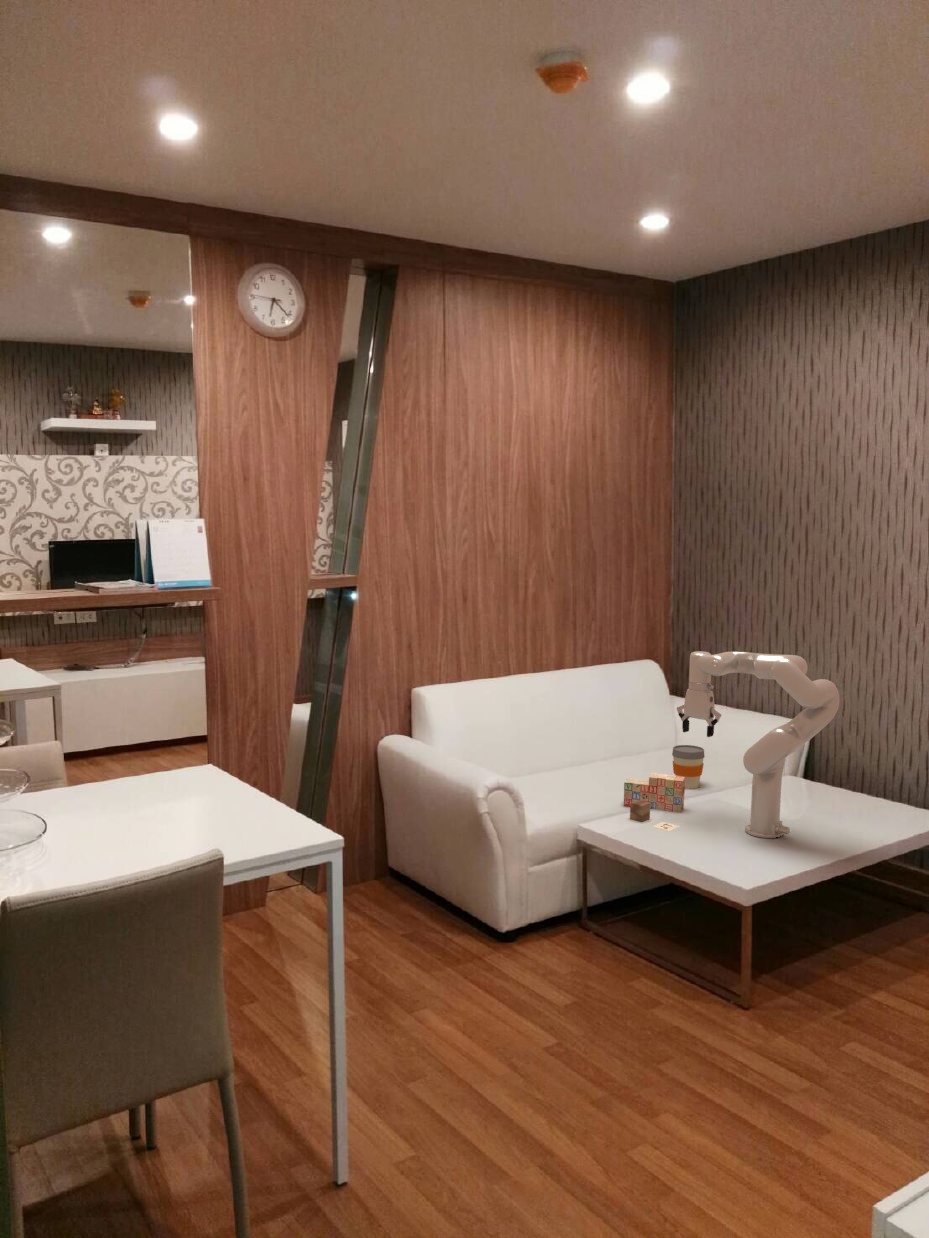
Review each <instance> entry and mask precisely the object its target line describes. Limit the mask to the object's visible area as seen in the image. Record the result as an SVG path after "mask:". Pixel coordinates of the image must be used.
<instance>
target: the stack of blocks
mask: <svg viewBox="0 0 929 1238" xmlns="http://www.w3.org/2000/svg"><path fill="white" fill-rule="evenodd" d="M648 777H649V778H648V780H646V779H639V778H638V779H637V778H631V777H630V778H629V777H627V778H626V779H625V781H624V782H623V783H624V784H623V806H624V807H629V808H630V803H631V802H634V801H636V800H641V801H645V802H649V803H650V810H656V811H657V810H658V811H666V812H672V813H673V812H674V813H679V814H680V813H682V812H683V810H684V808H685V807H684V805H685V804H684V803H685V777H681V776H676V775H675V774H667V773H666V774H664V773H655V772H651V774H650V775H649V776H648Z"/></svg>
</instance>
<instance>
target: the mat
mask: <svg viewBox="0 0 929 1238" xmlns="http://www.w3.org/2000/svg"><path fill="white" fill-rule="evenodd" d="M626 820H628V821H630V822H631V821H632V822H634V823H639V824H645V823H648V822H650V821H652V820H654V818H651V817H650V819H649V820H647V821H644V822H638V821H635V820H631V819H630V817H627V818H626ZM680 827H681V825H676V824H673V823H669V822H665V821H661V822H659V823H657V824H654V825H652V828H657V829H660V830H661V829H662V830H664V831H668V832H670V831H674V830H676V829H677V828H680Z"/></svg>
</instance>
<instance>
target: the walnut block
mask: <svg viewBox="0 0 929 1238" xmlns="http://www.w3.org/2000/svg"><path fill="white" fill-rule="evenodd" d="M629 810H630V811H629V818H630V819H631V820H635V821H638V822H644V821H647V820H649V819H650V818H651V809H650V803H649V802H645V801H641V800H636V801H634V802H631V803H630V807H629ZM631 820H630V821H631ZM638 822H637V823H638Z"/></svg>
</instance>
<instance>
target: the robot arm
mask: <svg viewBox="0 0 929 1238" xmlns="http://www.w3.org/2000/svg"><path fill="white" fill-rule="evenodd" d="M688 670H689V673H688V675H689V676H688V688H687V689H686V693H685V697H684V703H683V704H682V705H680V706H677V707H676V712H677V713H678V716H679V718H680V720H681V721H682V728H681V729H682V733H687V732H689V731H690V720H689V719H690V718H692V719H697V720H703V721H706V723H707V726H706V737H707V738H710V737H713V736H714V732H715V726H716V724H718V723H719V722H720V719H721V718H722V713H720V712H718V711H717V710H716V709H715V697H714V691H712V690H713V689H714V688H715V686H714V685H713V684H712V676H713V677H714V676H715V677H721V676H726V675H728V674H732V673H733V674H734V673H735V674H749V675H754V676H755V678H757V679H759V680H775V681H776V682H777V684H778V685H779V686H780V687H781V688H782V689H783V690H784V691H785V692H786V693H787V694H788V695H789V696H790V697H791V698H792V699H794V700H795V701H796V703H798V704H799V705H800V706H801V707H803V708H805V709H803V710H801V711H800V712H799V713H798V714H797V715H796V716H795V717H794V718H792V719H791V720H790V721H788V722H786V723H785V724H781V725H779V726H777V727H775V728H773V729H772V730H770V731H769V732H768V733H766V734H764V735H763V737H761V738H760V739H759V740H758V741H757V742H755V743H754V744H753V745H751V746H750V747H749V748H748V749H747V750H746V752H745V753H744V755H743V760H742V761H743V763H742V764H743V766H744V769H745V770H746V771H747V772H748V773H750V774H751V775H753V776H752V782H751V785H752V786H751V801H750V802H751V803H750V804H751V805H750V818H749V819H750V822H749V824H747V825H746V826H745V829H744V830H745V832H746V834H749V835H750V836H752V837H753V836H754V837H757V838H762V839H777V838H776V837H778V838H780V836H781V837H783V836H784V835H783V834H785V835H790V833H791V831H790V827H789V826H785V825H783V821H782V820H780V818H781V817H780V816H781V803H782V800H781V798H782V797H781V796H782V785H783V784H782V780H783V772H784V768H785V761H786V758H787V757H788V756H790V755H791V754H794V753H796V752H797V751H800V749H802V747H804V745H805V744H806V743H807V742H809V741H811V739H812V738H814V737H816V735H817V734H818V733H819V732H820V731H822V730H823V729H824V728H825V727H827V726H828V725H829V724H830V723H831V722H832V720H833V719H834V717H836V714H837V712H838V710H839V707H840V693H839V689H838V687H837V686H836V684H835V682H832V681H831V680H829V679H824V678H820V679H815V680H813V681H812V680H811V679H810V678H809V677H808V676H807V675H806V674H807V673H808V663H807V661H806V660H805V658H803V657H802V656H799V655H797V654H774V653H772V654H771V653H757V652H747V651H725V652H721V653H716V654H712V653H710V652H709V651H702V650H701V651H700V650H698V651H693V652H691V653H690V655H689V669H688ZM782 835H783V836H782Z"/></svg>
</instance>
